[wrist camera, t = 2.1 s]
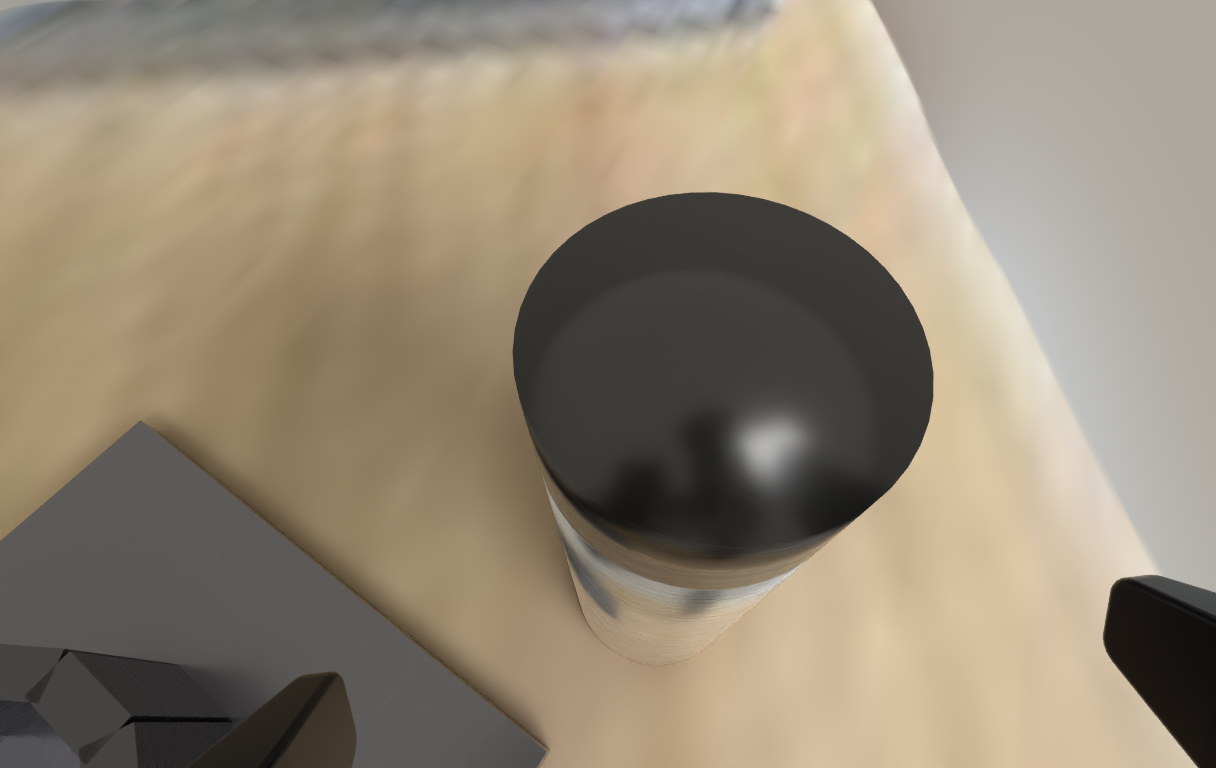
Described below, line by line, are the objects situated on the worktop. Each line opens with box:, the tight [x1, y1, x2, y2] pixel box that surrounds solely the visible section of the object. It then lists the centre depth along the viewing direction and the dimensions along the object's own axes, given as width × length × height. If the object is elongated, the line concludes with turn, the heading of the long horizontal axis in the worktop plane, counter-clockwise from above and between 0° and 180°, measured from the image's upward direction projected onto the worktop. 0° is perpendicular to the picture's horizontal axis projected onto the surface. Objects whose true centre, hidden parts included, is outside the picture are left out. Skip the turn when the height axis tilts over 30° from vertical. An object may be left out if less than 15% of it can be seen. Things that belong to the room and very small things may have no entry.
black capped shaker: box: [513, 192, 933, 665], centre depth 12 cm, size 4×4×12 cm
